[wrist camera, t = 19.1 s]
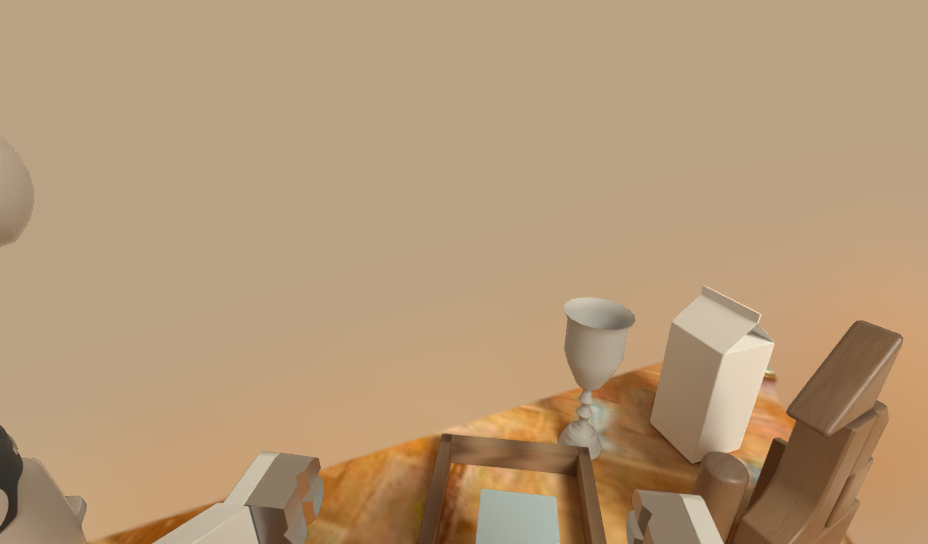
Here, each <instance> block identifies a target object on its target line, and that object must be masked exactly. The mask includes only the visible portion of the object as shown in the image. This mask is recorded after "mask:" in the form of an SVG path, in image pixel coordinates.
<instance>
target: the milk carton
mask: <svg viewBox="0 0 928 544" xmlns="http://www.w3.org/2000/svg"><path fill="white" fill-rule="evenodd" d="M760 316H761V314H760V313H758V312H756V311H754V310H752V309H750V308H749V307H747V306H745V305H743V304H741V303H738V302H737V301H735V300H732V299H731V298H729V297H727V296H725V295H723V294H721V293H719V292H717V291H715V290H713V289H711V288H708V287H707V286H703V288H702V292H701V295H700V296H698V297H697V298H696V299H695V300H694V301H693V302H692V303H691V304H690V305H689V306H688V307H686V309H684V310H683V311H682V312H681V313H680V314H679V315H678V316H677V317H676V318H675V319H674V320H673V321H672V324H671V329H670V333H669V338H668V342H667V347H666V351H665V356H664V360H663V365H662V369H661V374H660V379H659V383H658V388H657V392H656V397H655V401H654V406H653V410H652V415H651V419H650V423H651V424H652V425H653V426H654V427H655V428H656V429H657V430H658V431H659V432H660V433H661V434H662V435H663V436H664V437H665V438H666V439H667V440H668V441H669V442H670V443H671V444H672V445H673V446H674V447H675V448H676V449H677V450H678V451H679V452H680V453H681V454H682V455H683V456H684V457H685V458H686V459H687V460H688V461H689V462H690V463H692V464H693V463H696V462H700V461H702V458H703V457H704V456H705V455H706V454H707V453H709V452H712V451H719V452H724V453H729V452H732V451H735V450H738V449H740V446H741V443H742V440H743V437H744V434H745V431H746V428H747V425H748V422H749V419H750V416H751V413H752V410H753V407H754V404H755V401H756V398H757V395H758V392H759V389H760V386H761V383H762V380H763V377H764V374H765V371H766V368H767V365H768V362H769V359H770V356H771V353H772V350H773V347H774V344H775V342H774V341H773V340H772V339H771V337H770V336H769V335H768V334H767V333H766V332H765V331H764V329H763V328H762V327H761V326H760V325H759V324H758V323H759V320H760Z"/></svg>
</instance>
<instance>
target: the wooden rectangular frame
mask: <svg viewBox="0 0 928 544" xmlns="http://www.w3.org/2000/svg"><path fill="white" fill-rule="evenodd" d="M451 463H461V464H471V465H481V466H491V467H501V468H511V469H521V470H531V471H541V472H551V473H561V474H571V475H576V480H577V487H578V494H579V501H580V508H581V515H582V522H583V529H584V537H585V544H607V543H606V538H605V533H604V527H603V522H602V517H601V511H600V506H599V501H598V495H597V490H596V485H595V479H594V474H593V469H592V463H591V458H590V453H589V447H580V446H569V445H558V444H548V443H537V442H526V441H515V440H505V439H494V438H483V437H472V436H462V435H451V434H442V436H441V441H440V445H439V450H438V454H437V458H436V463H435V467H434V471H433V476H432V480H431V485H430V489H429V493H428V498H427V502H426V506H425V511H424V515H423V520H422V524H421V528H420V533H419V537H418V541H417V544H436V541H437V535H438V530H439V525H440V519H441V514H442V509H443V503H444V498H445V493H446V487H447V482H448V477H449V471H450V466H451Z"/></svg>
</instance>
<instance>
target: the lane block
mask: <svg viewBox="0 0 928 544" xmlns="http://www.w3.org/2000/svg"><path fill="white" fill-rule="evenodd" d="M476 544H560V539H559V527H558V515H557V503H556V497H554V496H545V495H535V494H526V493H517V492H507V491H498V490H489V489H481V495H480V505H479V515H478V525H477V534H476Z"/></svg>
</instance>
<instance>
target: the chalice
mask: <svg viewBox="0 0 928 544" xmlns="http://www.w3.org/2000/svg"><path fill="white" fill-rule="evenodd" d="M564 311H565V313H566V316H567V318H568V320H567V329H566V338H565V347H564V348H565V353H566V357H567V361H568V364H569V366H570V368H571V371H572V373H573V375H574V378H575V380H576V382H577V384H578V385H579V386H581V387H582V388H583V392H582V394H581V395H580V396H579V400H580V401H581V406H580V407H579V408H577V410H576V412H577V414H578V415H579V421H574V422H572V423H570V424H568V425H567V427H566V428H565V429H564V431H563V432H562V433H561V435H560V436H559V440H558V442H559V445H569V446H580V447H589V453H590V458H591V460H593V459H595V458H597V457H598V456H599V455H600V453H601V448H602V447H601V444H600V442H599V438H598V436H597V432H596V430H595V429H594V428H593V427H592V426H591V425H590V424H589V423H587V420H588V418H589V417H591V416H592V412H591V410H590V408H589V406H590V405H591V404H592V403H593V401H594V400H593V398H592V393H591V392H592V390H597V389H599V388H601V387H602V386H603V385H604V384H605V383H606V381H607V380H608V379H609V378H610V377H611V376H612V375H613V374H614V372H615V370H616V369H617V368H618V366H619V365H620V363H621V361H622V360H623V355H624V349H625V344H626V338H627V332H628V329H629V328H630V327H631V326H632V325H633V323H634V322H635V316H634V315H633V313H632V312H631V311H630V310H629V309H627V308H626V307H624V306H622V305H620V304H618V303H615V302H612V301H609V300H605V299H598V298H577V299H573V300H570V301H568V302H567V303H566V304H565V305H564Z"/></svg>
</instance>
